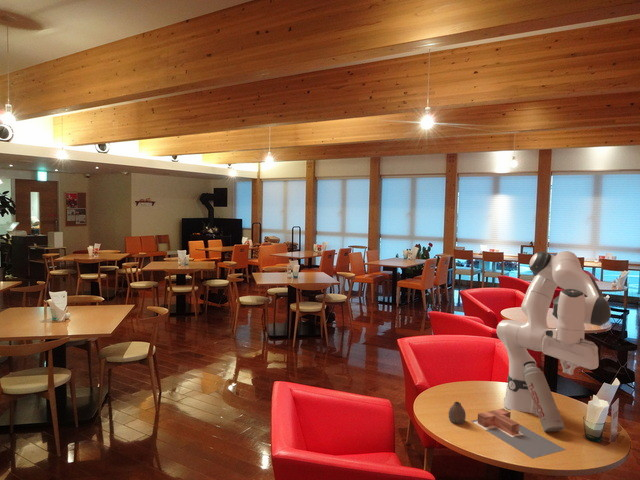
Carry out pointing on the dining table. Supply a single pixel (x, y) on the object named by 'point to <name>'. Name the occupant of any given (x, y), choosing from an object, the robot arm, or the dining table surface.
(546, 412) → the thermos bottle
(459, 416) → the vase
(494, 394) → the dining table surface
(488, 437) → the dining table surface
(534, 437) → the board
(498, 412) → the t block
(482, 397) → the dining table surface
